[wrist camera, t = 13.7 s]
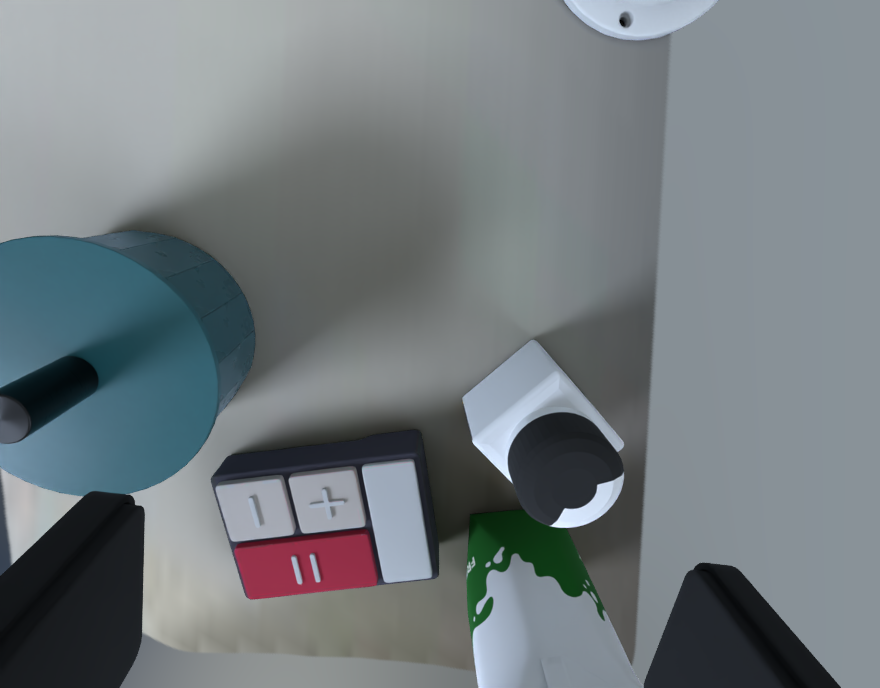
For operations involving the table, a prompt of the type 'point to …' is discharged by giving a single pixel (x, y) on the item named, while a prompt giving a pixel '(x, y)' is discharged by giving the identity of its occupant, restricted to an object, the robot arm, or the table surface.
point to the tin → (200, 298)
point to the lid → (98, 369)
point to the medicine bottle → (546, 439)
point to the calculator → (330, 515)
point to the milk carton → (537, 609)
